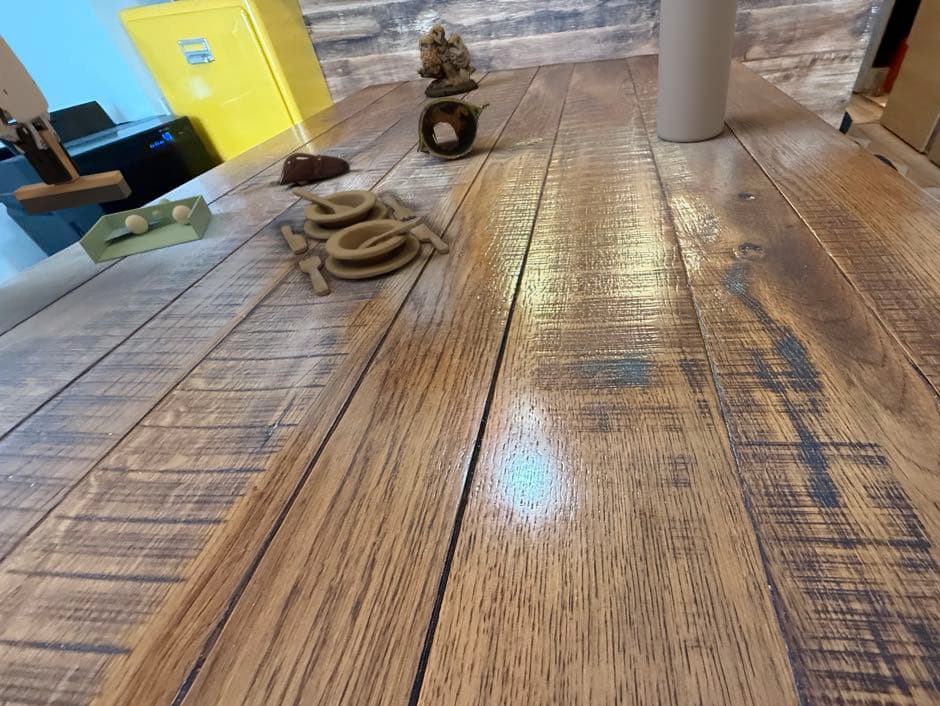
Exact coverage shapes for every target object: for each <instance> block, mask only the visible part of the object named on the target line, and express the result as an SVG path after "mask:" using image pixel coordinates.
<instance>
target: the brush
mask: <svg viewBox="0 0 940 706" xmlns="http://www.w3.org/2000/svg"><path fill="white" fill-rule="evenodd" d="M37 132H38V134H39V135H40V137H41V138H42V140H43V141H44V142H45V144H46V146H47V148H50V147H52V149H53V150H54V151H55V153H56V154H57V156H58V157H59V158H60V160H61V161H62V163H63V164H64V166H65V167H66V168H67V170H68V171H69V173H70V174H71V175H72V177H73V179H72V180H71V181H67V182H62V183H57V184H53V185H46V184H45V183H44V182H39V183H33V184H32V183H31V184H27V185H21V186H20V187H19V188H17V189H16V190H14V191H13V192H12V194H13V196H14V197H15V198H16V200H17V201H18V202H19V204H20V206H22V208H23V209H24V210H25V212H26V213H27V215H29V216H33V215H38V214H44V213H50V212H55V211H62V210H67V209H74V208H78V207H85V206H90V205H96V204H103V203H108V202H113V201H119V200H125V199H127V198H128V197H129V196H130V195H131V194H132V192H133V191H132V190H131V188H130V185H128V183H127V181H126V179H125V178H124V176H123V175H122V173H121V171H120V170H112V171H105V172H101V173H94V174H89V175H82V176H80V174H78V173H77V172H76V170H75V168H74V167H73V165H72V164H71V162H70V161H69V159H68V158H67V156H66V154H65V153H64V151H63V150H62V148H61V147H60V145H59V144H58V142H57V141H56V139H55V137H54V136H53V134H52V133H51V131H50V130H49V129H47V130H40V131H37ZM27 134H28V133H27ZM28 135H29V134H28Z"/></svg>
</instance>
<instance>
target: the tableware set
mask: <svg viewBox="0 0 940 706" xmlns="http://www.w3.org/2000/svg"><path fill="white" fill-rule="evenodd" d="M291 192H292V194H293V196H296V197H298V198H301V199H303V200H306V201H308V202H310V203H309V204H308V205H307V206H306V207H305V208H304V210H303V216H304V218H305V219H307V221H306V222H305V224H304V226H303V229H304V232H305V234H306V235H307V236H308V237H310V238H313V239H319V240H326V242H325V244H324V245H325V246H324V247H325V251H326V253H327V254H328V255H329V256H328V257H327V258H326V259H325V265H324V266H325V269H326V270H327V271H328V273H330V274H331V275H333V276H335V277H337V278H340V279H341V278H342V279H348V280H352V279H353V280H355V279H356V280H357V279H364V278H371V277H375V276H379V275H383V274H386V273H389V272H391V271H394V270H396V269H398V268H401V267H403V266H405V264H407V263H408V262H410V261H411V260H412V259H414V257H416V255H417V254H418V253H419V250H420V242H422V243H431V244H432V246H433V247H434V248H435V250H436V251H437V252H438V253H439V254H443V255H444V254H447V253H448V252H450V247H449V245H448V244H447V243H446V242H444V241H443V239H442V238H440V237H439V236H438V235H437V234H436V233H434V232H433V231H432V230H431V229H430V228H428V226H427V225H426V224H425V221H426V220H425V219H426V218H424V216H423V215H420V216H416V214H415V213H414V212H413V210H411V208H406V207H402V206H401V205H400V204H399V203H398V202H397V200H396V199H395V198H394V197H393V195H384V196H383V197H381V200H382V203H380V202H377V200H378V197H377V195H376V194H375V193H374V192H373V191H371V190H367V189H351V190H343V191H338V192H334V193H331V194H327V195H325V196H323V197H321V196H320V195H316V194H315V193H313V192H310V190H309V191H308V190H307V189H305V188H302V187H300V186H295V187H292V188H291ZM384 204H385V205H386V206H387V207H389V208H390V209H391V210H393V214H392V215H393V217H394V219H387V216H388V212H389V211H388V209H387V207H386V206H385V205H384ZM410 219H411V220H410ZM404 220H405V221H407V222H404ZM408 220H409V221H408ZM280 231H281V234H282V235H283V237H284V238H285V240H286V242H287V244H288V245H289V247H290V249H291V251H292V253H293V254H294V256H296V255H299V254H302V253H304V252H306V251H307V249H308V243H307V241H306V239H305V237H304V235H302V234H299V233H298V234H294V233H293V230H292V227H291V226H290V225H283V226H281V227H280ZM298 265H299V268H300V270H301V272H303V273H305V274H309V275H310V279H311V283H312V286H313V289H314V291H315V294H316V295H317V296H318V297H322V296H326V295H328V294H329V293H330V288H329V286H328V283H327V282H326V280H325V279H324V277H323V275H322V274H321V272H320V270H321V268H322V267H323V263H322V261H321V259H320V256H319V255H316V256H313V257H312V258H309V257H308V258H306V260H303V259H302V260H299V261H298Z"/></svg>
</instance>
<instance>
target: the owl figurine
mask: <svg viewBox="0 0 940 706" xmlns="http://www.w3.org/2000/svg"><path fill="white" fill-rule="evenodd" d="M418 49H419V53H420V55H419V60H420V61H421V65H422V67H420V68H419V69H416V72H417V74H419V76H420V78H421V79H434V80H432V81H431V82H430V83H429V85H428V86H426V89H425V90H424V95H425V96H426V97H428V98H441V97H446V95H447V96H448V97H450V96H454V95H459V94H460V95H461V94H464V93H468V92H471V91H473V90H476V89H478V87H479V85H478V82H476V80H475V79H473V78H471V76H472V75H473V73H475V72H476V71H477V67H476V66H475V65H470V64H471V59H472V57H471V54H470V52H469V48H468V46H467V44H464V41H463V39H462V37H461V36H460V35H459V34H457V33H456V34H452V35H450V36H449V37H448V39H447V38H446V31H445V28H444V26H442V25H441V24H434V25H432V27H430V29H429V33H428V34H423V35H421V37H420V38H419V39H418Z"/></svg>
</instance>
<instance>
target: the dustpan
mask: <svg viewBox="0 0 940 706" xmlns="http://www.w3.org/2000/svg"><path fill="white" fill-rule="evenodd" d="M180 205H183V206H186V207H188V208H190V209H191V212H190V213H189V215H188V217H187V219H188V221H189V223H190V224H181V223H179V222H177V221H176V220H175V219H174V217H173V209H174V208H175V207H177V206H180ZM131 215H138V216H141V217H142V218H144V219H145V220H146V221H147V223H151V224H148V230H147V231H146V232H145V233H143V234H135V233H133V232H131V231H129V232H126V233H123V234H120V235H117V236H115V237H112V238H109V236H110V235H111V234H112V232H113V231H114V230H119V229H123V228H127V227H126V224H125V221H126V219H127V218H128V217H129V216H131ZM212 217H213V212H212V210H211V209H210V207H209V205H208V204H207V201H206V199H205V198H204V195H202V194H199V195H195V196H190V197H185V198H180V199H176V200H170V199H168V198H162V199H160V200H159V202H158V203H157V204H152V205H147V206H144V207H143V206H142V207H138V208H134V209H128V210H124V211H119V212H115V213H110V214H105V215H102V216H101V217H100V218H99V219H98V220H97V221H96V222H95V224H93V226H92V227H91V228H90V229H89V230H88V231H87V233H85V234H84V236H83V237H81V238H80V240H79V241H78V243H79V245H80V246H81V248H82V249H83V250H84V251H85V252H86V254H87V256H88V257H89V258H90V259H91V260H92V262H93V263H94V264H98V263H102V262H106V261H111V260H115V259H120V258H124V257H128V256H132V255H137V254H141V253H145V252H151V251H154V250H158V249H163V248H167V247H173V246H176V245H180V244H184V243H185V244H186V243H189V242H194V241H198V240H202V239H203V237H204V235H205V232H206V231H207V229H208V226H209V223H210V222H211V219H212ZM152 222H154V223H152ZM108 238H109V239H108Z"/></svg>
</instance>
